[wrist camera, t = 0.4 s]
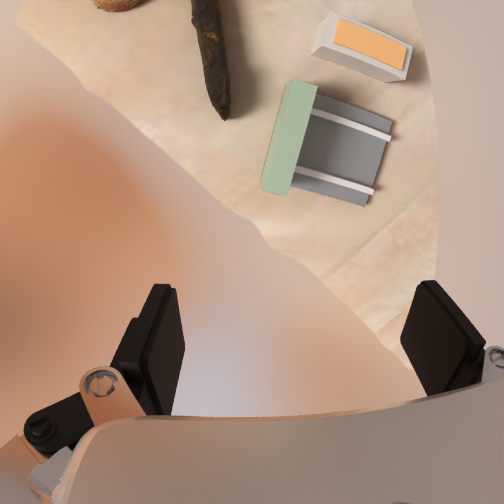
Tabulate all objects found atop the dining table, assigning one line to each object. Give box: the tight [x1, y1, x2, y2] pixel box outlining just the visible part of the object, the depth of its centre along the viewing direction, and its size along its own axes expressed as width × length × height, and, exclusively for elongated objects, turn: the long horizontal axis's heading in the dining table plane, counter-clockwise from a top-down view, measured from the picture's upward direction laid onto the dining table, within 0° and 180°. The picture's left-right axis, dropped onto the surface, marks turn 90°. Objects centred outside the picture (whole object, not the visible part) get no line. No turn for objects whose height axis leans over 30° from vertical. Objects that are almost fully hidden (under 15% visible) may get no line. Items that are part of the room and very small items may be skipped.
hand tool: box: [191, 0, 231, 121], centre depth 28 cm, size 19×4×5 cm, turn 6°
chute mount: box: [261, 79, 392, 207], centre depth 32 cm, size 12×14×7 cm
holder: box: [311, 12, 413, 83], centre depth 27 cm, size 4×10×7 cm, turn 76°
